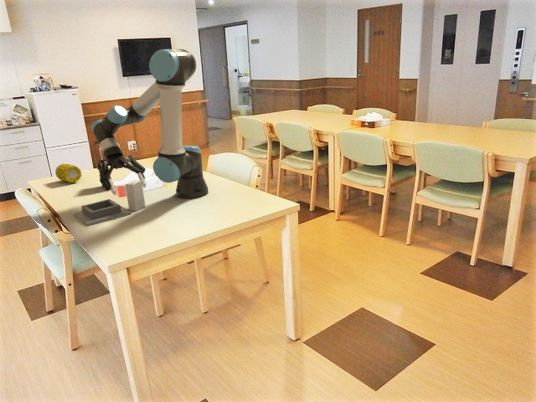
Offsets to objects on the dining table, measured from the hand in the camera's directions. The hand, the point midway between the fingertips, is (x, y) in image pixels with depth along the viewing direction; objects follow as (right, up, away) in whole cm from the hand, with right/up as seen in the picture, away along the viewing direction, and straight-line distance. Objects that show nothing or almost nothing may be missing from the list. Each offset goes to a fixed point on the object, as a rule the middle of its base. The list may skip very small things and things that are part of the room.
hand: (130, 189), depth 179 cm
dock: (-11, -11, -4) cm, 16 cm away
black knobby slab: (-24, +2, +35) cm, 43 cm away
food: (-50, +5, +49) cm, 70 cm away
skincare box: (+3, -9, +1) cm, 9 cm away
